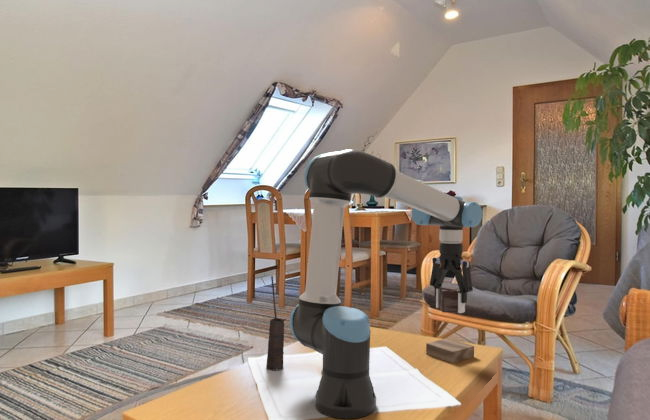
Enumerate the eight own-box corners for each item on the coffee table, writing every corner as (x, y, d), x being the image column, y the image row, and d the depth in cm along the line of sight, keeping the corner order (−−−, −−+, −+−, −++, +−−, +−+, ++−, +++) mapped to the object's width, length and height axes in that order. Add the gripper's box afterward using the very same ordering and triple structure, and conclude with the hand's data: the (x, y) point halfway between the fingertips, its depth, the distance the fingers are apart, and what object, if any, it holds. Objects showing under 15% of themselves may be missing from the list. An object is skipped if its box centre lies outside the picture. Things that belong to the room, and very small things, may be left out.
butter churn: (299, 366, 140) (300, 276, 140) (280, 376, 132) (281, 280, 132) (277, 360, 145) (278, 273, 145) (256, 369, 137) (257, 276, 137)
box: (457, 309, 155) (457, 287, 155) (460, 313, 149) (461, 291, 149) (439, 308, 155) (439, 287, 155) (442, 312, 149) (442, 290, 149)
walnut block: (452, 364, 145) (452, 352, 144) (426, 355, 153) (426, 343, 153) (473, 358, 151) (474, 346, 151) (447, 349, 160) (447, 338, 160)
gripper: (485, 244, 146) (484, 314, 146) (433, 239, 163) (432, 303, 163) (471, 245, 141) (470, 317, 141) (419, 240, 158) (418, 305, 158)
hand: (450, 309), depth 152 cm, fingers closed on box, 8 cm apart
